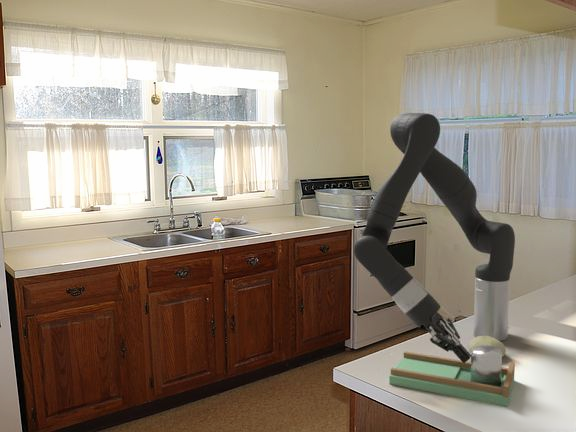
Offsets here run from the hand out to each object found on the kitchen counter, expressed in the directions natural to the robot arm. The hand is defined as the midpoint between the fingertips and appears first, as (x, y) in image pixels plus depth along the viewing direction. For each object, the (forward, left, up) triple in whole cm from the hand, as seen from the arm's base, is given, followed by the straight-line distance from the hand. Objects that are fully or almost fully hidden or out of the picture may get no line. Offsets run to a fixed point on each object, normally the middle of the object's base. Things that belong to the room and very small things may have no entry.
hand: (467, 359), depth 127 cm
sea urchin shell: (-20, +1, -7) cm, 21 cm away
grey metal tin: (0, +4, -5) cm, 6 cm away
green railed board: (0, -4, -6) cm, 7 cm away
